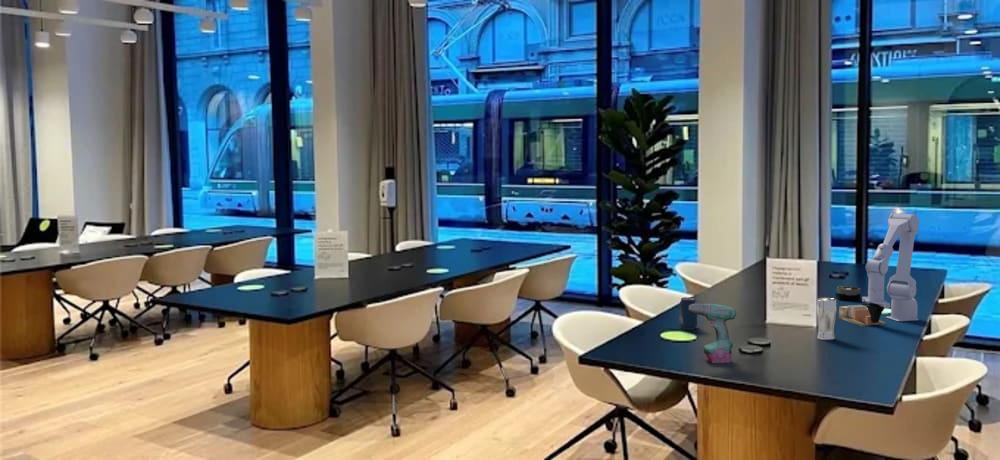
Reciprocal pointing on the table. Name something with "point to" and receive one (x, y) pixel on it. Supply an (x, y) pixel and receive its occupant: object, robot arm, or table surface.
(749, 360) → the table surface
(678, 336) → the table surface
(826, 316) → the beer glass
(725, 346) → the power drill
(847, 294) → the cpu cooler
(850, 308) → the block
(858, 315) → the brown stepped block
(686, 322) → the soda can
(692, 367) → the table surface
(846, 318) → the vise body
